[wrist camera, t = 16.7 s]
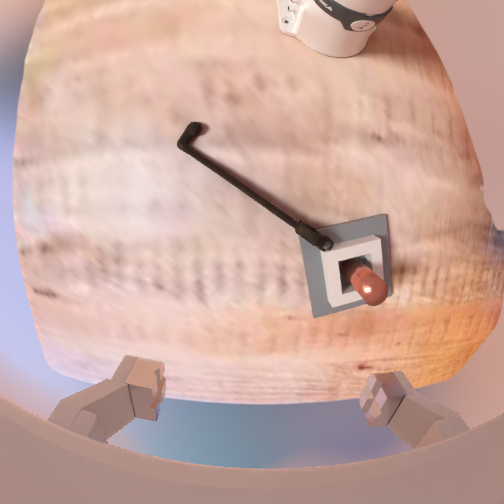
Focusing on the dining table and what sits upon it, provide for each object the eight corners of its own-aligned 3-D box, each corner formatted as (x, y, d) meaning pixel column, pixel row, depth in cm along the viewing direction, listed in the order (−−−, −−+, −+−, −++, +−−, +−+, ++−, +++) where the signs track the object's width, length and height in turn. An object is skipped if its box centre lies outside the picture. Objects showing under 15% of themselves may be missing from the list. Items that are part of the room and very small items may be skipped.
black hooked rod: (197, 122, 43) (341, 228, 45) (180, 147, 44) (323, 251, 47) (188, 116, 38) (349, 234, 40) (169, 143, 39) (328, 260, 42)
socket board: (298, 233, 46) (302, 238, 42) (383, 213, 46) (393, 217, 42) (312, 315, 51) (317, 326, 47) (389, 293, 50) (398, 302, 46)
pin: (339, 259, 47) (363, 284, 36) (360, 254, 46) (388, 276, 36) (341, 280, 48) (364, 309, 37) (362, 275, 48) (389, 301, 37)
